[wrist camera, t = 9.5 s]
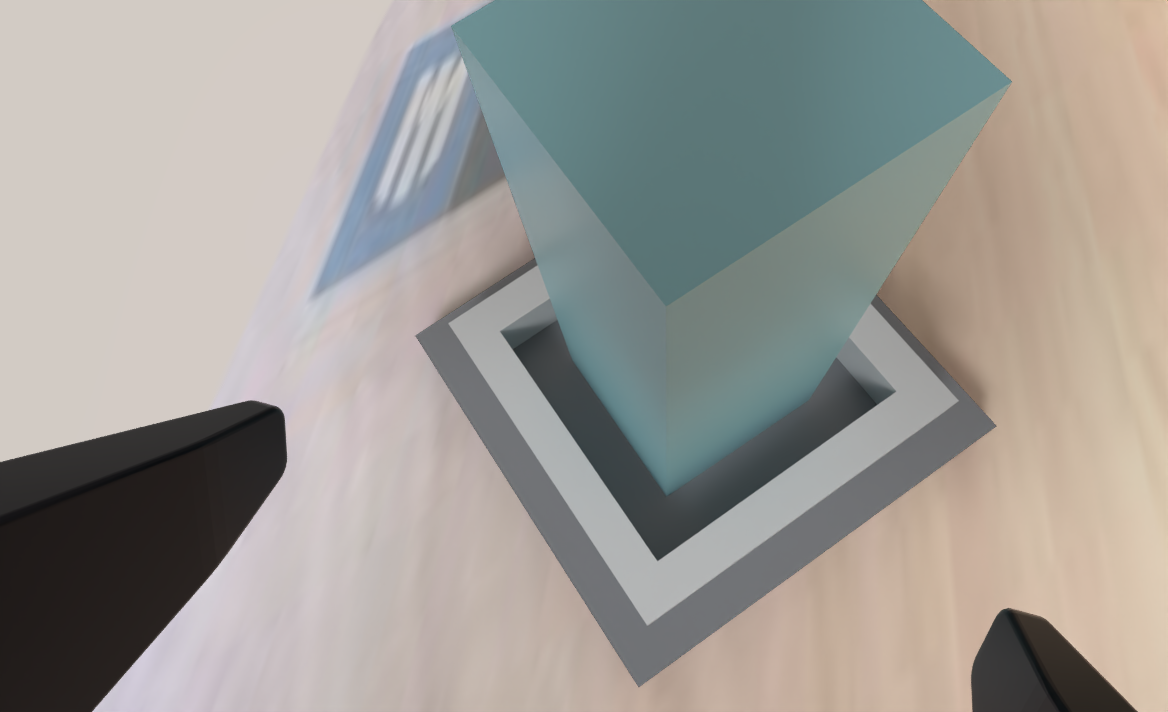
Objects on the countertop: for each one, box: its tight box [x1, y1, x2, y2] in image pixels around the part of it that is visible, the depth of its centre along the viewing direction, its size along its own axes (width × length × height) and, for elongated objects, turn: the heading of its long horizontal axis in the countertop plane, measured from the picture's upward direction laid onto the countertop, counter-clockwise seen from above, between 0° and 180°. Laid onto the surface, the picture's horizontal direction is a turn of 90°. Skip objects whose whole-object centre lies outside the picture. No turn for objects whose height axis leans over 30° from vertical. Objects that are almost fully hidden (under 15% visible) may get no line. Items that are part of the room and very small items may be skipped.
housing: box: [451, 0, 1012, 497], centre depth 15 cm, size 4×4×12 cm
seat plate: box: [416, 258, 996, 687], centre depth 20 cm, size 11×11×2 cm
